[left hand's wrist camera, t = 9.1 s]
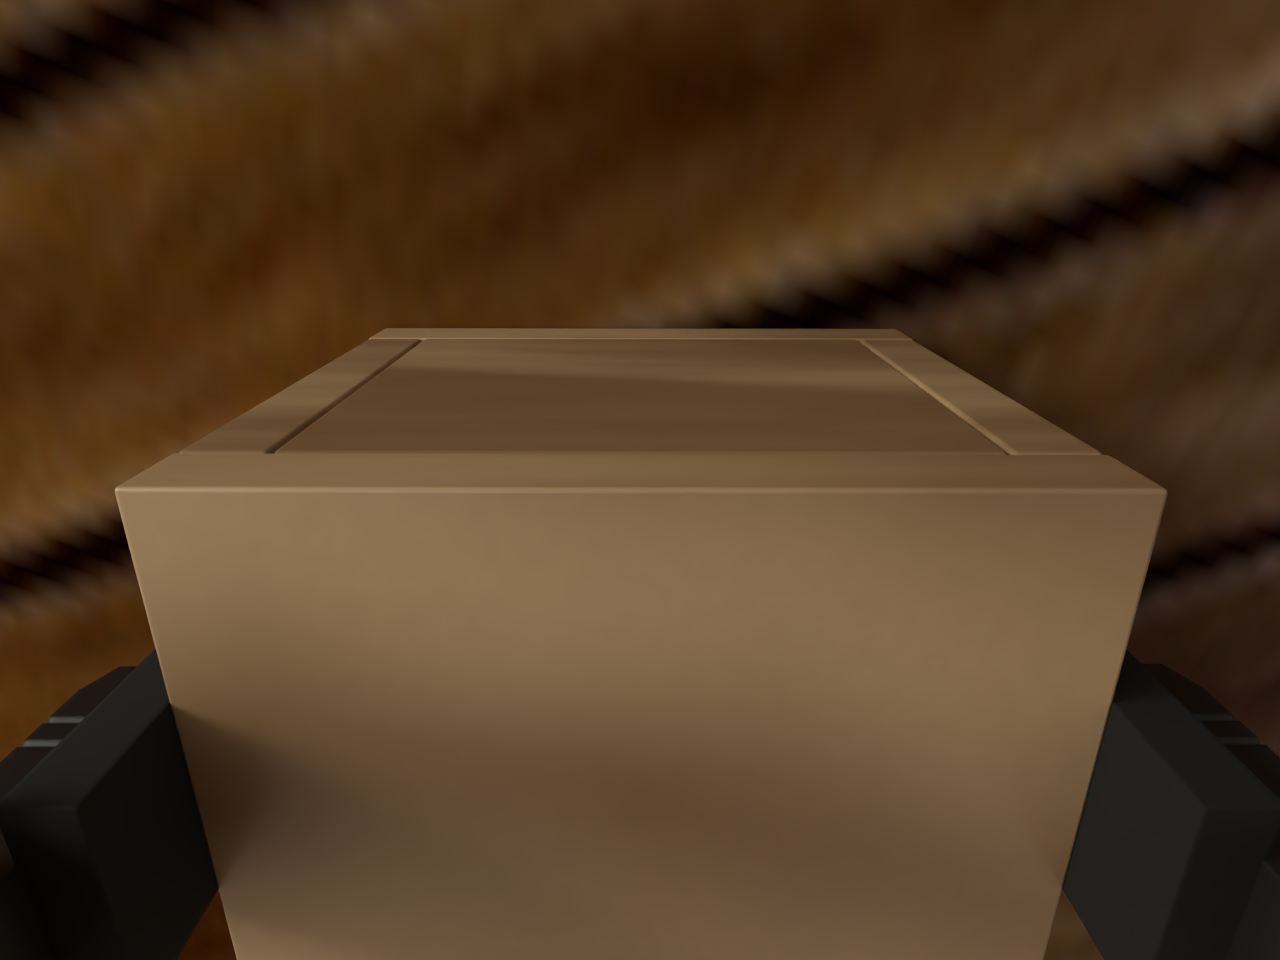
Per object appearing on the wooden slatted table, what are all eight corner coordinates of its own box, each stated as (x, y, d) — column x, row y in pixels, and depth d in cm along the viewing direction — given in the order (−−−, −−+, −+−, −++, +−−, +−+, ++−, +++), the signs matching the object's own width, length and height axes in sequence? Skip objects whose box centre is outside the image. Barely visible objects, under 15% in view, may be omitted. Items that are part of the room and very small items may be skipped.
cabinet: (809, 1053, 23) (897, 1512, 15) (469, 1053, 23) (380, 1511, 15) (897, 328, 15) (1172, 489, 7) (385, 327, 16) (110, 488, 7)
